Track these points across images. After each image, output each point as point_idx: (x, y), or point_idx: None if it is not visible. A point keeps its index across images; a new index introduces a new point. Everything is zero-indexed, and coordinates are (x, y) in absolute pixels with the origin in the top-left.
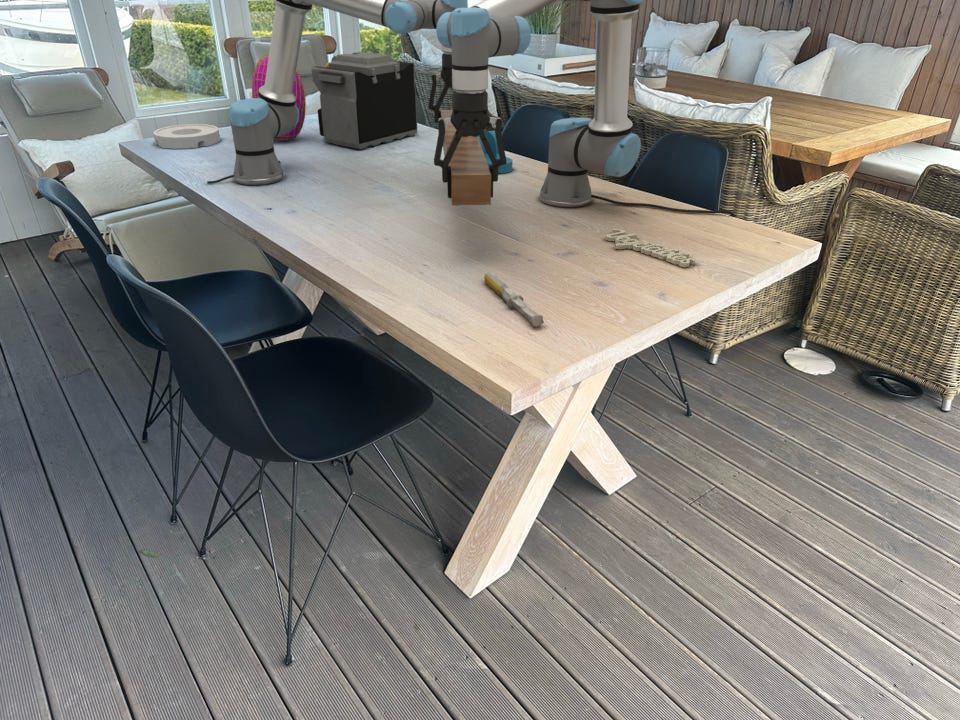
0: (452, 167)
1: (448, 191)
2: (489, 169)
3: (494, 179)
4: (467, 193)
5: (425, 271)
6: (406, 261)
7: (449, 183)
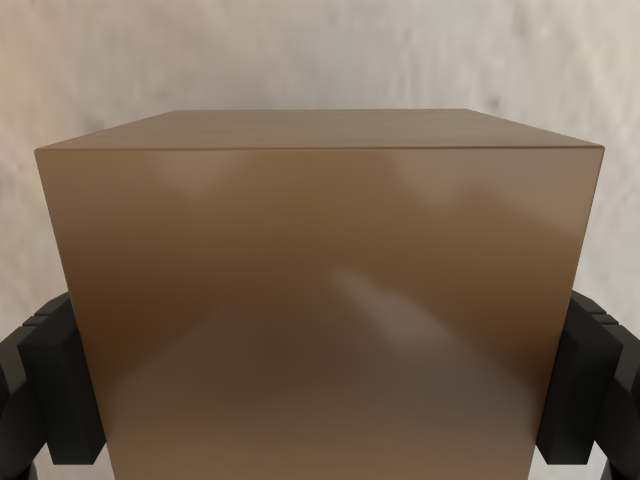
0: (509, 458)
1: None
2: (89, 378)
3: None
4: (357, 117)
5: (503, 42)
6: None
7: None
